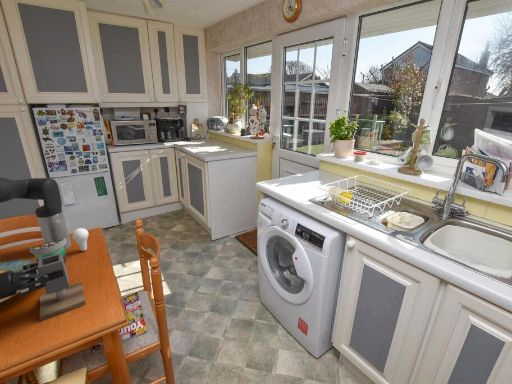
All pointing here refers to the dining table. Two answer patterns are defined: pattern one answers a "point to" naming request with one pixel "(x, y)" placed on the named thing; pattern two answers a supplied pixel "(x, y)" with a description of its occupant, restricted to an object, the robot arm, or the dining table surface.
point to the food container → (50, 249)
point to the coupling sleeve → (53, 265)
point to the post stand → (61, 301)
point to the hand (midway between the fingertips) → (62, 267)
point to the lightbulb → (81, 238)
